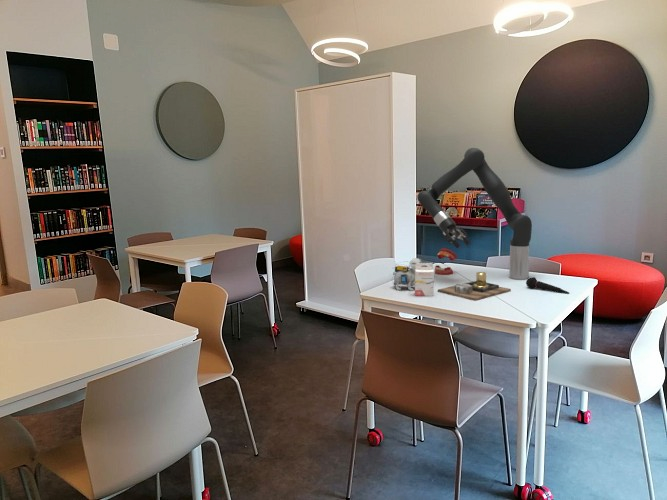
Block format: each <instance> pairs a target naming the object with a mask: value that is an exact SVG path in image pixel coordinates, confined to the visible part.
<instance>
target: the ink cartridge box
mask: <svg viewBox="0 0 667 500" xmlns="http://www.w3.org/2000/svg"><path fill="white" fill-rule="evenodd" d="M423 265H425V266H427V267H421V266H423ZM433 267H434V263H433V262H431V263H430V262H429V263H428V262H426V263H416V269H415V286H414V295H415V296H416V297H434V296H435V294H434V293H435V270H434V268H433Z"/></svg>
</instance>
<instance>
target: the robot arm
mask: <svg viewBox="0 0 667 500" xmlns="http://www.w3.org/2000/svg"><path fill="white" fill-rule="evenodd" d="M463 156H464V158H463V159H462V160H461V161H460V162H459V163H458V164H456V165H455V166H454V167H453V168H452V169H450V170H448V171H447V172H446V173H444V174H442V176H440V177H439V178H438V179H437V180H436V181H434V182H433V183H432V184H431V189H430V190H421V191H420V192H418V193H417V196H416V197H417V202H418V203H419V204H420V205H421V206H422V207H423V208H424V210H426V211H427V213H428V214H429V215H430V217H431V218H432V219H433V221H434V223H435V224H436V225H437V226H438V228H439V229H440V230H441V232H442V233H441V235H442V236H443V237H444V238H445V240H446V242H447V243H451V244H452V245H454V247H455V248H456V249H459V248H460V247H461V244H460V243H459V242H458V241H457V239H459V240H462V241H463V243H464V244H465V245H466V246H467V247H468V246H470V245H471V242H470V241H469V239H468V238H467V237H468V236H469V235H468V234H467V232H466V231H465V230H464V228H462V227H461V226H460V227H459V228H457V224H456V222H455V221H454V220H453V218H452V217H451V216H450V214H449V213H447V211H445V210H444V208H443V207H442V206H441V204H439V203H438V202H437V201H438V200H439V198H440V197H441V195H442V194H444V193H445V192H446V191H447V190H449V188H451V187H452V186H453V185H454V184H455V183H457V182H458V181H459V180H461V178H462V177H464V176H466V175H467V174H469V173H470V172H472V171H473V173H475V175H476V176H477V178H478V179H479V182H480V183H481V186H482V188H483V189H484V191H485V193H487V195H488V197H489V198H490V199H491V201H492V202H493V203H494V205H495V206H496V208H498V210H499V211H500V213H501V214H502V215H503V217H504V219H505V221H506V222H507V224H508V226H509V228H510V230H512V231H513V232H512V234H513V236H512V237H511V239H510V241H509V242H510V243H509V271H508V273H509V274H508V277H509V279H512V280H527V279H529V278H530V259H529V258H530V242H531V240H532V231H533V230H532V228H533V225H532V220H531V218H530V217H529V216H528V215H525V214H522V213H521V212H520V211H519V209H517V207H516V206H515V204H514V203H513V200H512V196H511V194H510V191H509V190H508V188H507V186H506V185H505V183H504V182H503V181H502V180H501V178H500V177H499V176H498V175H497V174H496V173H495V172H494V170H492V169H491V167H490V166H489V165H488V163H487V161H486V159H485V153H484V152H483V151H482V150H481V149H480V148H477V147H471V148H468V149H467V150H466V151H465V152H464V155H463Z"/></svg>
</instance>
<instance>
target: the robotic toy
mask: <svg viewBox="0 0 667 500" xmlns="http://www.w3.org/2000/svg"><path fill="white" fill-rule="evenodd" d="M405 262H406V263H408V262H409V264H408V265H403V264H401V263H397V265H395V267H392V269H393V270H394V272H393V273H392V275H393V276H392V278H391V279H393V280H394V281H393V285H394V287H395V289H396V291H402V288H401V287H403V286H407V288H408V291H410V292H413V291H414V288H412V287H413V286H414V287H415V269H416V263H427V260H423V259H421V258H418V257H415V258H412V259H411V260H410V261H406V260H405V261H404V260H403V263H405ZM421 267H427V266H425V265H423V266H421ZM399 286H401V287H399Z"/></svg>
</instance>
